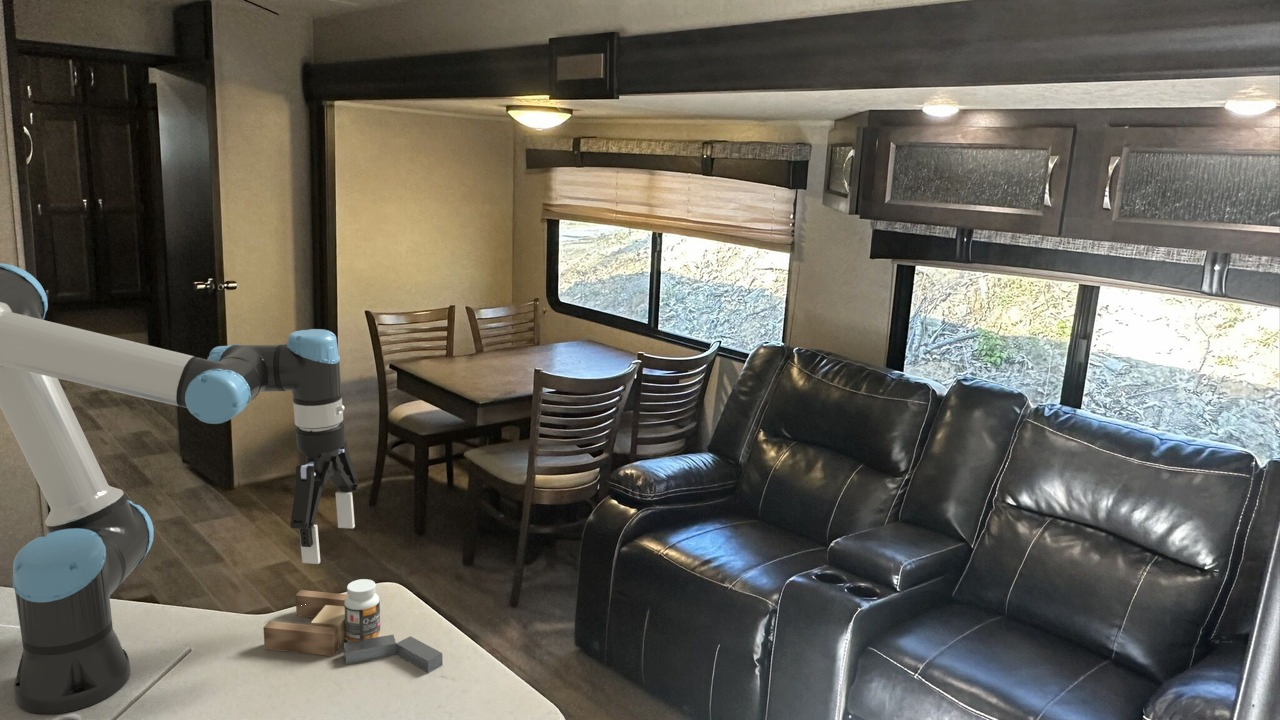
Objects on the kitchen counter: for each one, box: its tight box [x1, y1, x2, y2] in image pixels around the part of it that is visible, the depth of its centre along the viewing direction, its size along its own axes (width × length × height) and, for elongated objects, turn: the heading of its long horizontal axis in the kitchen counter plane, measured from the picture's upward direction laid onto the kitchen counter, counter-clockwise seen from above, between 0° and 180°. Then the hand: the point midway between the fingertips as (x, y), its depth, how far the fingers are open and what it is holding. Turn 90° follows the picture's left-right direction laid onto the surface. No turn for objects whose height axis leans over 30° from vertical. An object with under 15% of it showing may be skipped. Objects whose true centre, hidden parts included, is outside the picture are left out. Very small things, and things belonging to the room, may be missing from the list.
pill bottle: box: [344, 578, 381, 642], centre depth 155 cm, size 6×6×10 cm
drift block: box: [310, 605, 346, 646], centre depth 156 cm, size 5×6×4 cm
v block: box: [343, 634, 444, 674], centre depth 150 cm, size 17×7×2 cm, turn 83°
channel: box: [262, 589, 348, 657], centre depth 156 cm, size 12×13×4 cm
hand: (329, 544), depth 153 cm, fingers open, 13 cm apart
